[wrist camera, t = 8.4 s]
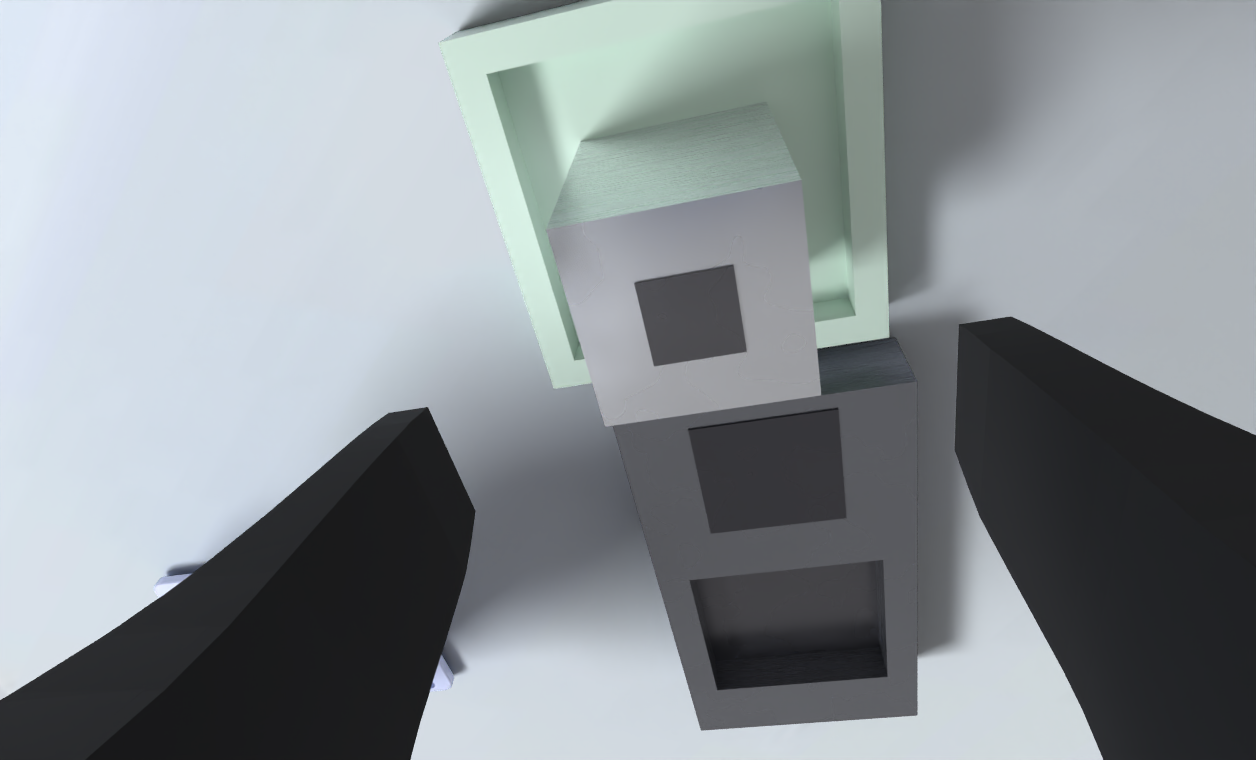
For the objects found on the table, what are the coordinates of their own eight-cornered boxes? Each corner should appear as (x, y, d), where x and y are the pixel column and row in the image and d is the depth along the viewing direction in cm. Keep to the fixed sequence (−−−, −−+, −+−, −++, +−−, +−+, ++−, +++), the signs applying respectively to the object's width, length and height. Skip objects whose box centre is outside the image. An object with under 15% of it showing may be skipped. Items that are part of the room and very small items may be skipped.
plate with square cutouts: (699, 678, 29) (701, 731, 28) (617, 380, 21) (612, 426, 20) (901, 662, 28) (917, 716, 26) (895, 337, 20) (917, 382, 18)
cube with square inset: (621, 302, 19) (604, 428, 15) (580, 141, 17) (545, 230, 12) (785, 274, 19) (821, 396, 14) (766, 101, 16) (801, 180, 12)
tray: (561, 360, 21) (554, 388, 20) (456, 32, 16) (438, 43, 15) (875, 310, 20) (889, 337, 18) (862, -68, 15) (879, -65, 14)
